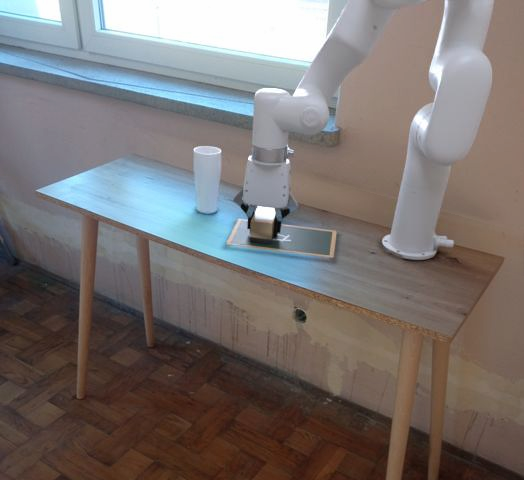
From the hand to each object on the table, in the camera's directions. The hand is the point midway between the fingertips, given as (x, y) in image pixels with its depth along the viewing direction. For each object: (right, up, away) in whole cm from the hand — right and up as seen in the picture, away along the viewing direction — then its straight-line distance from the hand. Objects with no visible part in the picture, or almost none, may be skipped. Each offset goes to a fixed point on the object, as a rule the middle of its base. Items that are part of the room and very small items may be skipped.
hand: (263, 232), depth 128 cm
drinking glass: (-14, +8, +12) cm, 21 cm away
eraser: (0, 0, 0) cm, 0 cm away
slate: (+4, -2, 0) cm, 5 cm away
